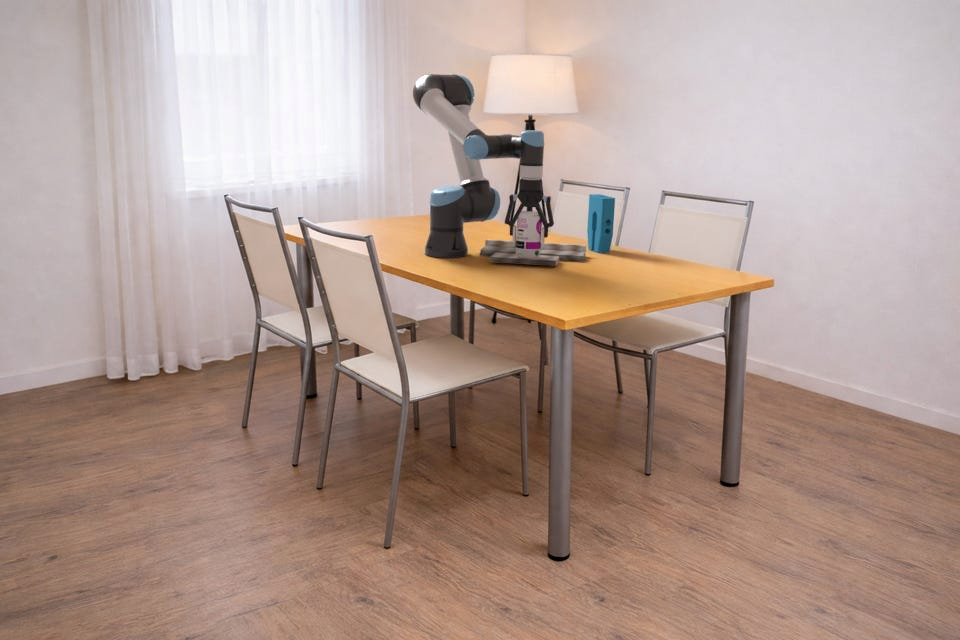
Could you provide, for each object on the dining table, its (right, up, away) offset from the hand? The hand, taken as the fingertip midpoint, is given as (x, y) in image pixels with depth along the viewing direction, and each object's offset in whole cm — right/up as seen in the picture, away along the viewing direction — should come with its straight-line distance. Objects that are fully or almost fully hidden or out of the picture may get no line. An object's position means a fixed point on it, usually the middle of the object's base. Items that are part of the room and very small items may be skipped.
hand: (528, 246), depth 289 cm
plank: (-1, -5, +2) cm, 5 cm away
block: (+28, 0, +28) cm, 39 cm away
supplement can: (0, -4, +1) cm, 4 cm away
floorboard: (+3, -2, +15) cm, 15 cm away
